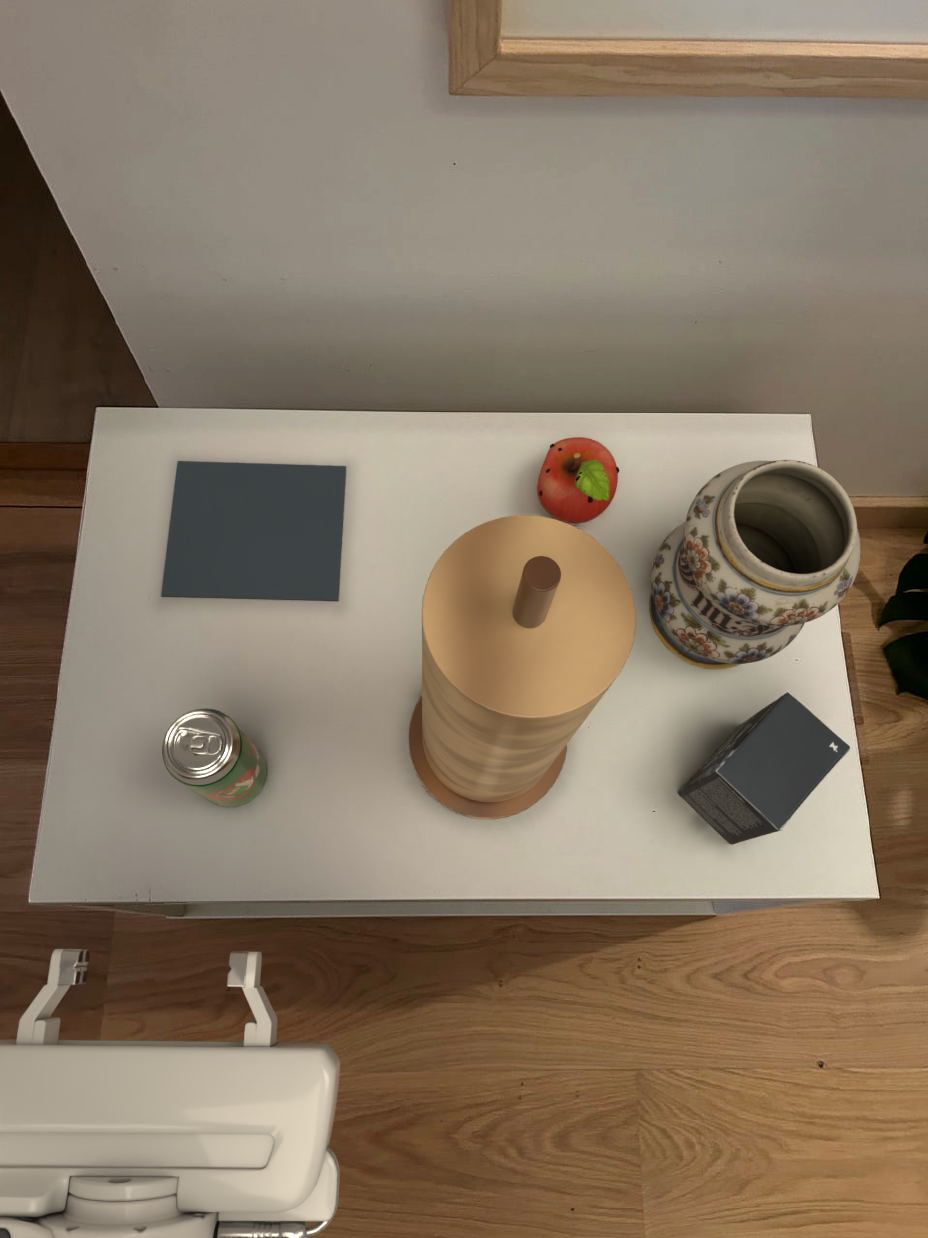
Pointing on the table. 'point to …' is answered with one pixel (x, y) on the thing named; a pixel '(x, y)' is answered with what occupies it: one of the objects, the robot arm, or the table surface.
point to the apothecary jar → (753, 563)
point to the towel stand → (514, 660)
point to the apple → (577, 480)
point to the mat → (255, 531)
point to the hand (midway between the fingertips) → (159, 950)
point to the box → (764, 771)
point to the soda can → (214, 758)
